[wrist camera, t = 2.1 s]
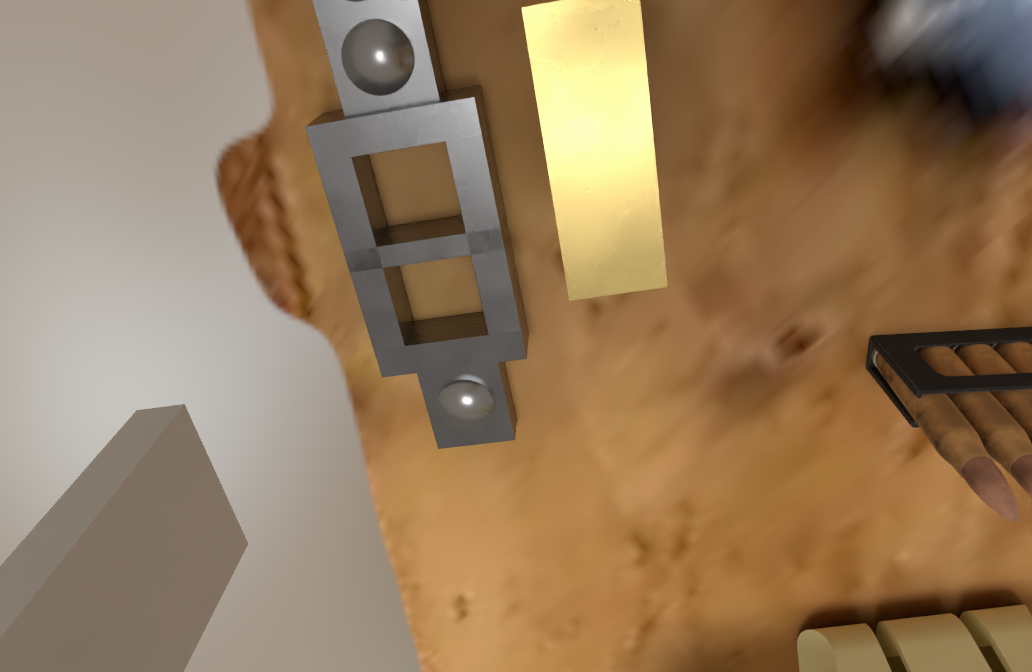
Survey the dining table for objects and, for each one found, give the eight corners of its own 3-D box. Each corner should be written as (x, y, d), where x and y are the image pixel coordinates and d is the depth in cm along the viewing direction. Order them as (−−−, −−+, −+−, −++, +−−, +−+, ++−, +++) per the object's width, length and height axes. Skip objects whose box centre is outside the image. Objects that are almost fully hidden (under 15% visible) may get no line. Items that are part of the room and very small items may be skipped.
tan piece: (534, -19, 30) (521, 7, 21) (615, -35, 30) (638, -16, 20) (567, 198, 34) (569, 300, 25) (639, 187, 34) (667, 287, 25)
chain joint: (269, -67, 30) (246, -66, 27) (443, -104, 29) (433, -107, 27) (415, 431, 41) (407, 460, 39) (544, 416, 40) (543, 444, 38)
